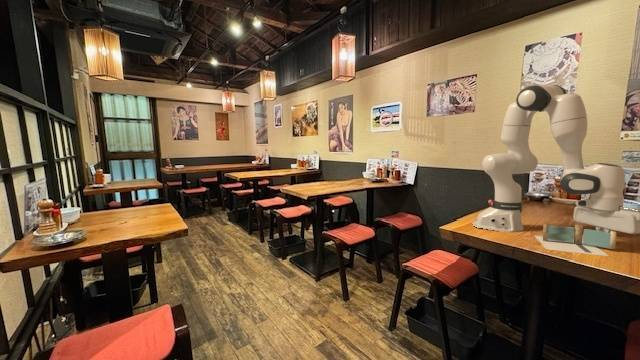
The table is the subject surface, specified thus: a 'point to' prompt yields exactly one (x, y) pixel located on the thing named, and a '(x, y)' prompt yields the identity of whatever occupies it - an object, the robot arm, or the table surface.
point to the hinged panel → (600, 238)
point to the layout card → (570, 247)
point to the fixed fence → (563, 233)
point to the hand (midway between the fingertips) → (603, 238)
